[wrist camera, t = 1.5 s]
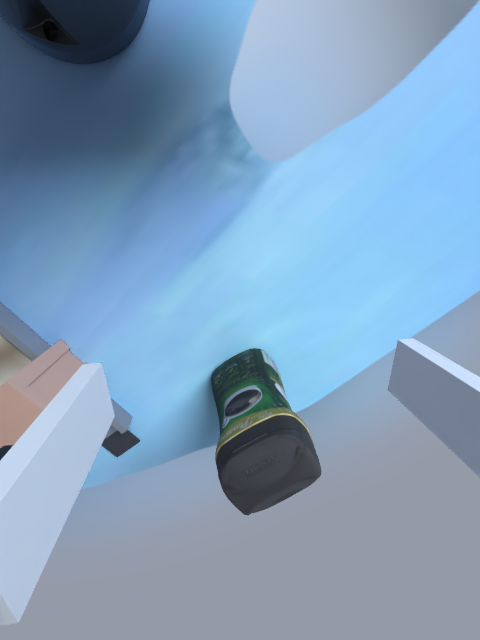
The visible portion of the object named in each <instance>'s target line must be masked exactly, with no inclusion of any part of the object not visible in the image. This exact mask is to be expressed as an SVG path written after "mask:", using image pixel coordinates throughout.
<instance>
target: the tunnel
mask: <svg viewBox="0 0 480 640" xmlns="http://www.w3.org/2000/svg"><path fill="white" fill-rule="evenodd" d="M69 349H70V347H69V346H68V345H67V344H66V343H65V342H63V341H62V340H61V339H60V340H59V341H58V342H57V343H55V344H54V345H53V346H51V347H50V348H49V349H48V350H46V351H45V352H44V353H42V354H41V355H40V356H39V357H37V358H36V359H35V360H33V361H32V362H31V363H30V364H28V365H27V366H26V367H24V368H23V369H22V370H21V371H19V372H18V373H17V374H16V375H14V376H13V377H12V378H10V379H9V380H8V381H7V382H5V383H4V384H3V385H1V386H0V448H1V447H3V446H7V445H14V444H15V443H16V442H17V441H18V439H19V438H20V437H21V436H22V435H23V434H24V432H25V431H26V430H27V429H28V428H29V426H30V425H31V424H32V423H33V422H34V421H35V419H36V418H37V417H38V416H39V415H40V414H41V412H42V411H43V410H44V409H45V408H46V407H47V405H48V404H49V403H50V402H51V401H52V400H53V398H54V397H55V396H56V395H57V394H58V393H59V391H60V390H61V389H62V388H63V387H64V386H65V384H66V383H67V382H68V381H69V380H70V378H71V377H72V376H73V375H74V374H75V373H76V371H77V370H78V369H79V368H80V367H81V366H82V364H84V363H83V362H82V361H81V360H80V359H78V358H77V357H76V356H75V355H74V354H73V353H72V352H71V351H69ZM85 364H88V363H87V362H86V363H85Z"/></svg>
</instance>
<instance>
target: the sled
mask: <svg viewBox="0 0 480 640" xmlns="http://www.w3.org/2000/svg"><path fill="white" fill-rule="evenodd" d="M31 362H32V360H31V359H30V358H29V357H28V356H26V355H25V354H24V353H23V352H22V351H20V350H19V349H18V348H17V347H15V346H14V345H13V344H12V343H11V342H9V341H8V340H7V339H6V338H4V337H3V336H2V335H1V334H0V386H1V385H3V384H4V383H5V382H7V381H8V380H9V379H10V378H12V377H13V376H14V375H16V374H17V373H18V372H19V371H21V370H22V369H23V368H24V367H26V366H27V365H28V364H30V363H31Z"/></svg>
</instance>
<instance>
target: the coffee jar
mask: <svg viewBox="0 0 480 640" xmlns="http://www.w3.org/2000/svg"><path fill="white" fill-rule="evenodd" d="M211 382H212V390H213V394H214V398H215V402H216V407H217V411H218V417H219V423H220V438H219V442H218V445H217V449H216V458H215V459H216V465H217V470H218V476H219V480H220V483H221V486H222V489H223V491H224V493H225V495H226V496H227V497H228V499H229V500H230V501H231V502H232V503H233V504H234V505H235V507H237V508H238V509H239V510H240V511H241V512H242V513H243V514H245V515H249V514H251V513H255V512H258V511H262V510H265V509H267V508H269V507H271V506H273V505H275V504H277V503H279V502H281V501H283V500H285V499H287V498H289V497H291V496H292V495H294V494H296V493H298V492H299V491H301V490H303V489H305V488H306V487H308V486H310V485H311V484H312V483H313V482H315V481H316V480H317V479H318V477H320V475H321V467H320V463H319V459H318V456H317V454H316V451H315V448H314V444H313V440H312V437H311V435H310V432H309V431H308V429H307V427H306V425H305V424H304V422H303V421H302V420H301V419H300V418H299V417H298V416H297V415H296V414H295V413H294V412H293V411H292V410H291V408H290V405H289V403H288V400H287V397H286V394H285V391H284V388H283V384H282V381H281V378H280V375H279V372H278V370H277V368H276V366H275V364H274V362H273V360H272V359H271V357H270V356H269V355H268V354H267V353H266V352H265V351H263V350H261V349H255V348H254V349H249V350H246V351H244V352H242V353H239V354H237V355H236V356H234V357H232V358H230V359H229V360H227V361H226V362H224V363H223V364H221V365H220V366H219V367H218V368H217V369H216V370H215V371H214V373H213V375H212V378H211Z"/></svg>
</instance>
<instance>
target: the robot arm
mask: <svg viewBox="0 0 480 640" xmlns="http://www.w3.org/2000/svg"><path fill="white" fill-rule="evenodd" d="M148 3H149V0H0V16H1V17H2V18H3V19H4V20H5V21H6V22H7V23H8V24H9V25H10V26H11V27H12V28H13V29H14V30H15V31H16V32H17V33H18V34H19V35H20V36H21V37H23V38H24V39H25V40H26V41H27V42H29V43H30V44H31V45H33V46H34V47H36V48H37V49H39V50H41V51H42V52H44V53H46V54H48V55H50V56H52V57H55V58H57V59H60V60H63V61H67V62H72V63H95V62H100V61H103V60H106V59H108V58H111V57H112V56H114V55H116V54H117V53H119V52H120V51H121V50H123V49H124V48H125V47H126V46H127V45H128V44H129V43H130V42H131V40H132V39H133V38H134V36H135V35H136V34H137V32H138V30H139V28H140V26H141V24H142V22H143V20H144V17H145V14H146V11H147V7H148ZM388 391H390V392H391V393H392V394H393V395H394V396H395V397H396V398H397V399H398V400H399V401H400V402H401V403H402V404H403V405H404V406H405V407H406V408H407V409H408V410H410V411H411V412H412V413H413V414H414V415H415V416H416V417H417V418H418V419H419V420H420V421H421V422H422V423H423V424H424V425H425V426H426V427H427V428H428V429H429V430H431V431H432V432H433V433H434V434H435V435H436V436H437V437H438V438H439V439H440V440H441V441H442V442H443V443H444V444H445V445H446V446H447V447H449V449H451V450H452V451H453V452H454V453H455V454H456V455H457V456H458V457H459V458H460V459H461V460H462V461H463V462H464V463H465V464H466V465H467V466H468V467H469V468H470V469H471V470H473V471H474V472H475V473H476V474H477V475H478V476H479V477H480V377H478V376H477V375H475V374H473V373H471V372H470V371H468V370H466V369H465V368H463V367H461V366H459V365H458V364H456V363H454V362H453V361H451V360H449V359H447V358H446V357H444V356H442V355H441V354H439V353H437V352H435V351H434V350H432V349H430V348H429V347H427V346H425V345H424V344H422V343H420V342H418V341H417V340H415V339H402V340H398V342H397V347H396V352H395V357H394V362H393V367H392V371H391V376H390V381H389V386H388ZM114 417H115V415H114V411H113V406H112V402H111V398H110V394H109V390H108V386H107V382H106V378H105V374H104V369H103V365H102V363H94V364H82V366H81V367H80V368H79V369H78V370H77V371H76V373H75V374H74V375H73V376H72V377H71V378H70V380H69V381H68V382H67V383H66V384H65V386H64V387H63V388H62V389H61V390H60V391H59V393H58V394H57V395H56V396H55V397H54V398H53V400H52V401H51V402H50V403H49V404H48V405H47V407H46V408H45V409H44V410H43V411H42V412H41V414H40V415H39V416H38V417H37V418H36V419H35V421H34V422H33V423H32V424H31V425H30V426H29V428H28V429H27V430H26V431H25V432H24V434H23V435H22V436H21V437H20V438H19V439H18V441H17V442H16V443H15V444H14V445H7V446H3V447H1V448H0V626H1V625H7V624H14V623H18V622H19V620H20V618H21V616H22V614H23V612H24V610H25V608H26V605H27V603H28V601H29V599H30V597H31V595H32V592H33V590H34V588H35V586H36V584H37V582H38V580H39V578H40V575H41V573H42V571H43V569H44V567H45V565H46V563H47V560H48V558H49V556H50V554H51V552H52V550H53V547H54V546H55V543H56V541H57V539H58V537H59V535H60V533H61V531H62V528H63V526H64V524H65V522H66V520H67V518H68V516H69V513H70V511H71V509H72V507H73V505H74V503H75V501H76V498H77V496H78V494H79V492H80V490H81V488H82V486H83V483H84V481H85V479H86V477H87V475H88V473H89V471H90V468H91V466H92V464H93V462H94V460H95V458H96V456H97V453H98V451H99V449H100V447H101V445H102V443H103V441H104V438H105V436H106V434H107V432H108V430H109V428H110V426H111V423H112V421H113V419H114Z"/></svg>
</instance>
